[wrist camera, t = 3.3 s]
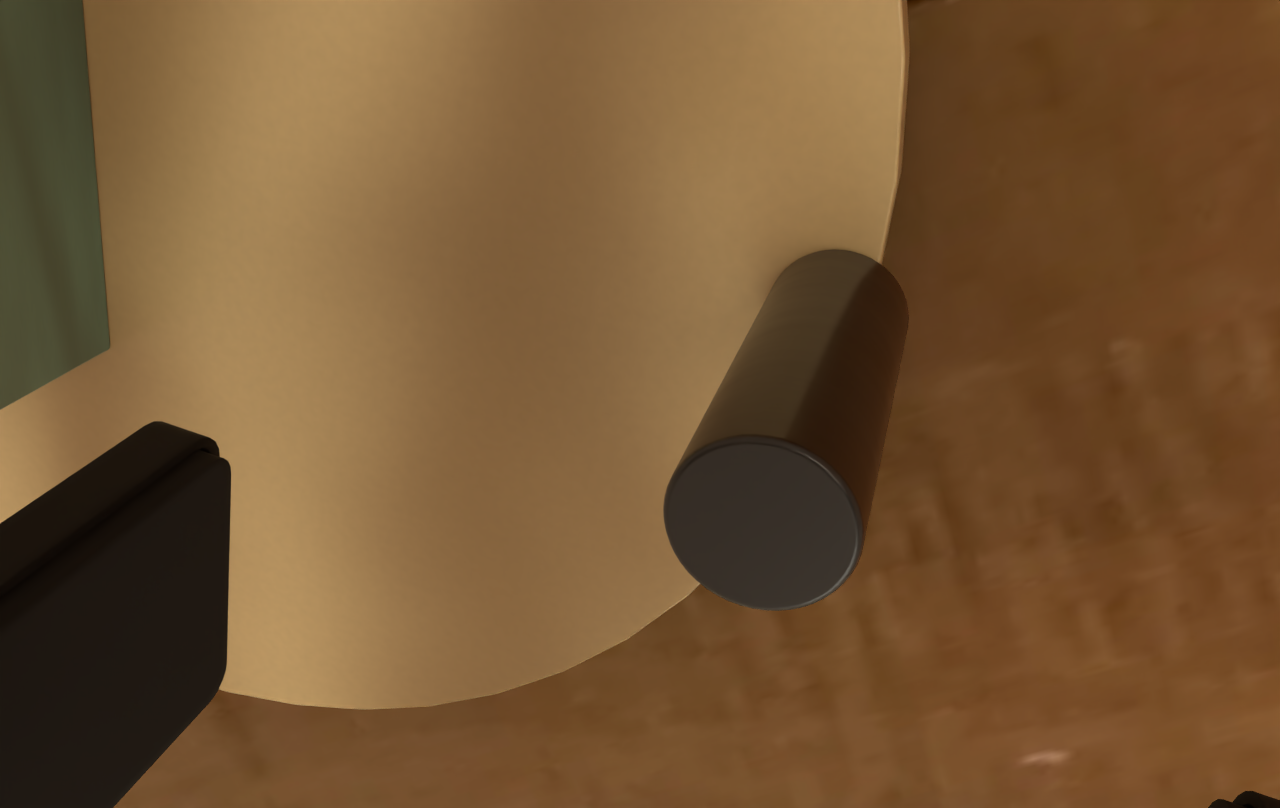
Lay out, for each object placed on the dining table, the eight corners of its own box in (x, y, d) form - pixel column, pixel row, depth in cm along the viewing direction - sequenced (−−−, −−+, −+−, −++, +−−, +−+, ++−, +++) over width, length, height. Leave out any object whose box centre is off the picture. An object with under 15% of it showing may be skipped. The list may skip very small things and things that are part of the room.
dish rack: (1272, -898, 13) (1594, -1796, 6) (751, 845, 26) (661, 1195, 20) (-681, -1015, 18) (-1740, -1557, 11) (-263, 492, 32) (-613, 670, 25)
